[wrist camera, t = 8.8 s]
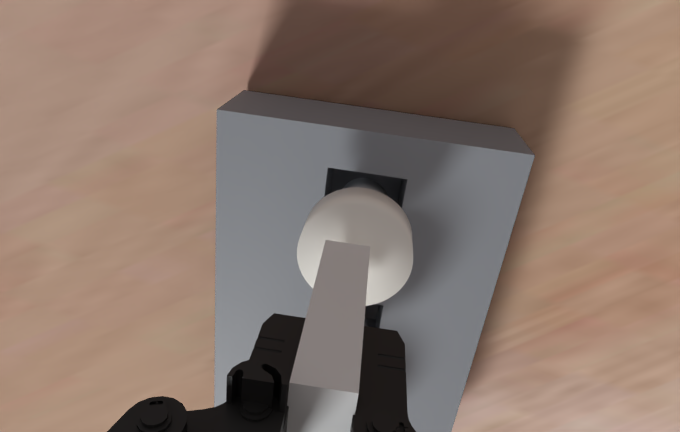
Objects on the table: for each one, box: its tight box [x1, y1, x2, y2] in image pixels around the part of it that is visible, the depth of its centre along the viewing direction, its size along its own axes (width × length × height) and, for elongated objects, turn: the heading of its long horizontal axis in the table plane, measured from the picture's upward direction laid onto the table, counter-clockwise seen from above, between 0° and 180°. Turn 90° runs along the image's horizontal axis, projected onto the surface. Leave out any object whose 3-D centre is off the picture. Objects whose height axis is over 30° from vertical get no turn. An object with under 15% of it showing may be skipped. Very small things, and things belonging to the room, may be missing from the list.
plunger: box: [297, 178, 413, 306], centre depth 20 cm, size 4×4×5 cm
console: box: [214, 90, 535, 432], centre depth 26 cm, size 13×20×4 cm, turn 174°
